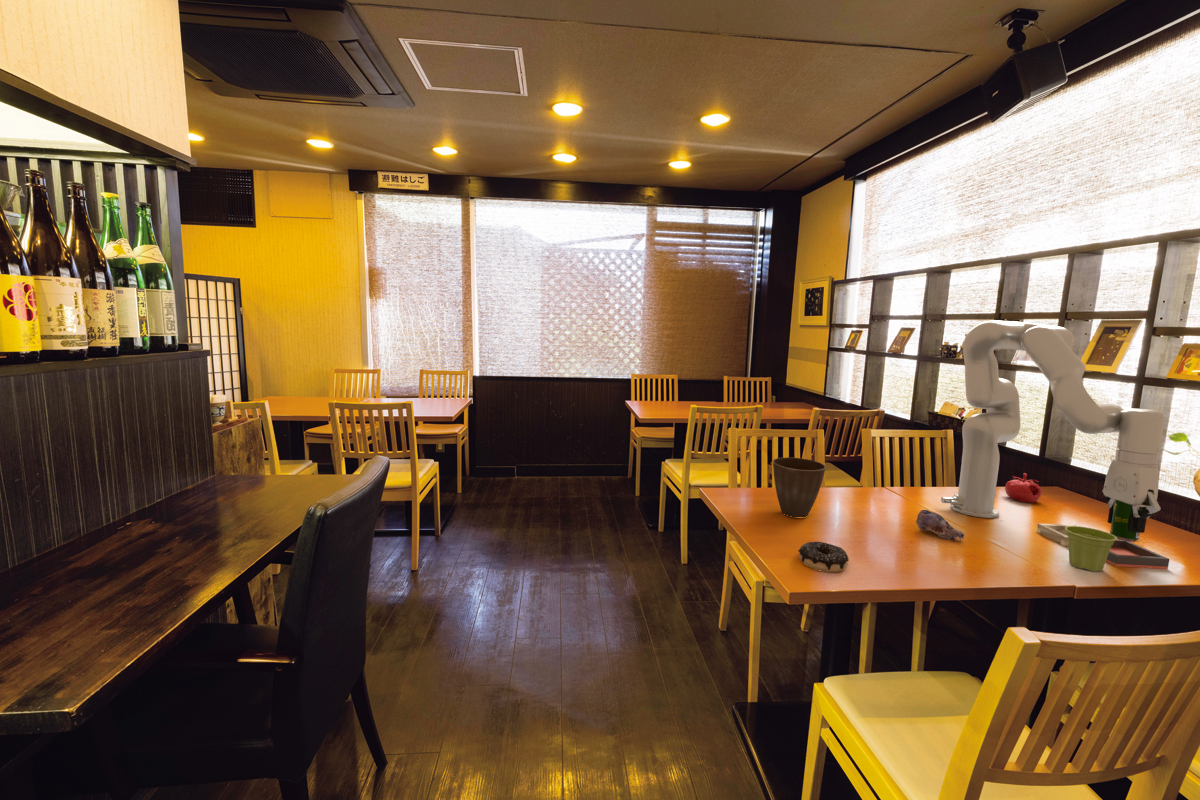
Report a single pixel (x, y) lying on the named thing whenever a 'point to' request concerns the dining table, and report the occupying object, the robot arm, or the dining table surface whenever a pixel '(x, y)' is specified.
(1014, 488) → the pomegranate
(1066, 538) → the cedar frame
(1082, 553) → the plant pot
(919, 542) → the dining table surface
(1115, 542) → the lacquer tray
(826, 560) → the donut
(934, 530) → the skull
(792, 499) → the plant pot
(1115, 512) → the beer can
